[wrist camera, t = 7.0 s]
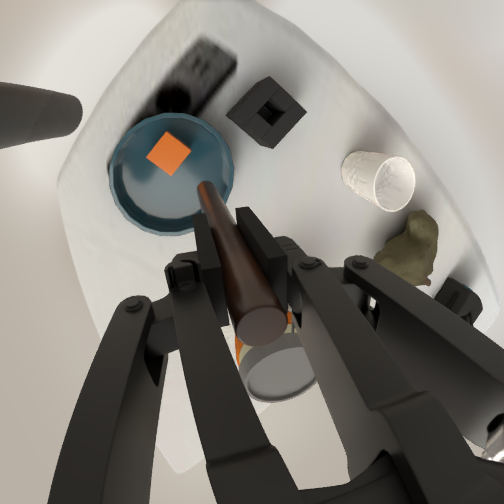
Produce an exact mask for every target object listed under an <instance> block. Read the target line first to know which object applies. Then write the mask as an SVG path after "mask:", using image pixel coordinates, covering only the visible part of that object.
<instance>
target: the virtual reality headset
mask: <svg viewBox="0 0 504 504" xmlns="http://www.w3.org/2000/svg"><path fill="white" fill-rule="evenodd" d="M435 300H436V301H437V302H439V303H440V304H442V305H443V306H445V307H446V308H448V309H449V310H450V311H452V312H453V313H455V314H456V315H458V316H459V317H460V318H462V319H463V320H465V321H466V322H468V323H469V324H470V325H472V326H473V323H474V322H475V320H476V319H477V317H478V316H479V315H480V313H481V312H482V310H483V307H482V303H481V300H480V298H479V296H478V295H477V294H476V293H474V292H473V291H472V290H471V289H470V288H468V287H466V286H465V285H464V284H463V285H462V284H460V283H459V282H457V281H456V280H454V279H452V278H448V279H447V280H446V282H445V284H444V286H443V287H442V289H441V291H440V292H439V294H438V295H437V297H436V299H435Z"/></svg>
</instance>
